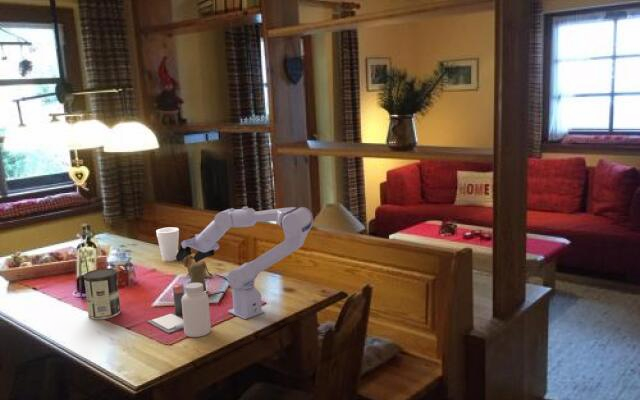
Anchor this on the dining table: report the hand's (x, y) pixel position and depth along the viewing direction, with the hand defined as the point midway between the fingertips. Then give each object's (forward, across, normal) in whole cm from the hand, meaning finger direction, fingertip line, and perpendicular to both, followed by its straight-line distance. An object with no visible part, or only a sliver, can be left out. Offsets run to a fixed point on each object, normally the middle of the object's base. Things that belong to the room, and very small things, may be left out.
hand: (186, 259), depth 194 cm
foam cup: (+40, -32, -29) cm, 59 cm away
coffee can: (+27, +17, +4) cm, 32 cm away
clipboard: (+7, +9, +20) cm, 23 cm away
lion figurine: (+23, -25, -9) cm, 35 cm away
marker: (+9, +3, +15) cm, 18 cm away
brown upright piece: (+13, -13, +5) cm, 19 cm away
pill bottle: (-1, +8, +28) cm, 29 cm away
